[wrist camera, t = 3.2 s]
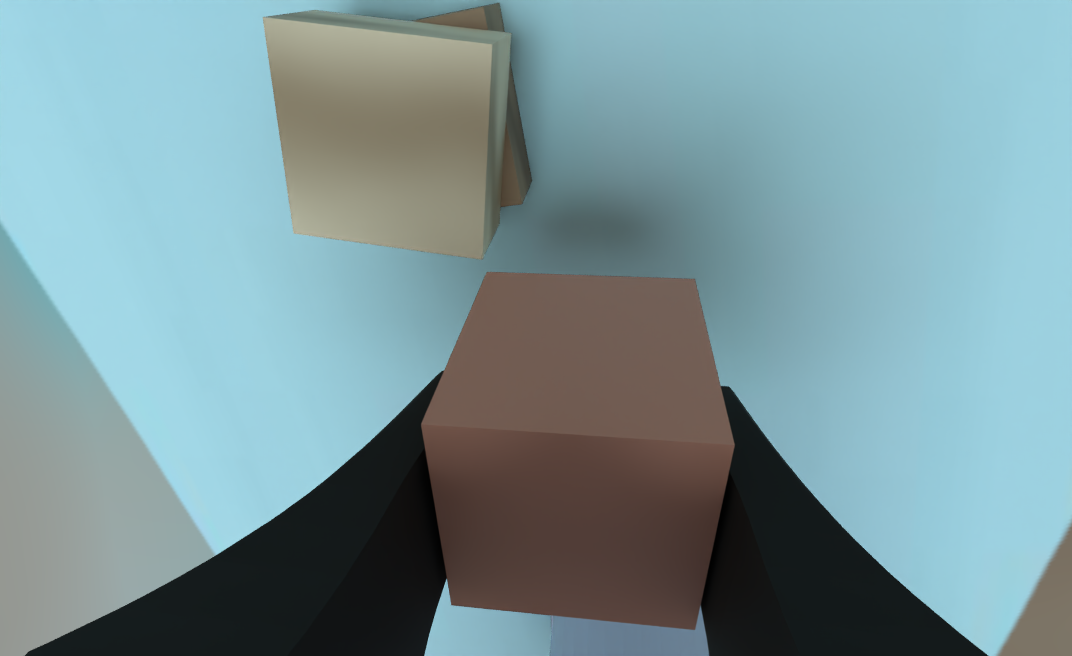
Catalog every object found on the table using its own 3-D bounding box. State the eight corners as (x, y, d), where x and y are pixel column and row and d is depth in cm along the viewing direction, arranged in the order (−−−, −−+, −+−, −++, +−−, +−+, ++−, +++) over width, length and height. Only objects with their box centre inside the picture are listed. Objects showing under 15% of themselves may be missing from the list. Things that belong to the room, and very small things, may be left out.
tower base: (533, 177, 19) (522, 204, 17) (389, 197, 20) (361, 225, 18) (501, 2, 16) (483, 6, 14) (337, 35, 17) (298, 44, 15)
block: (673, 437, 13) (695, 629, 9) (498, 426, 14) (451, 604, 10) (694, 279, 11) (734, 445, 7) (486, 272, 11) (420, 424, 8)
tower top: (499, 223, 17) (482, 260, 15) (333, 201, 17) (293, 233, 15) (511, 33, 14) (492, 44, 12) (315, 10, 14) (262, 17, 12)
